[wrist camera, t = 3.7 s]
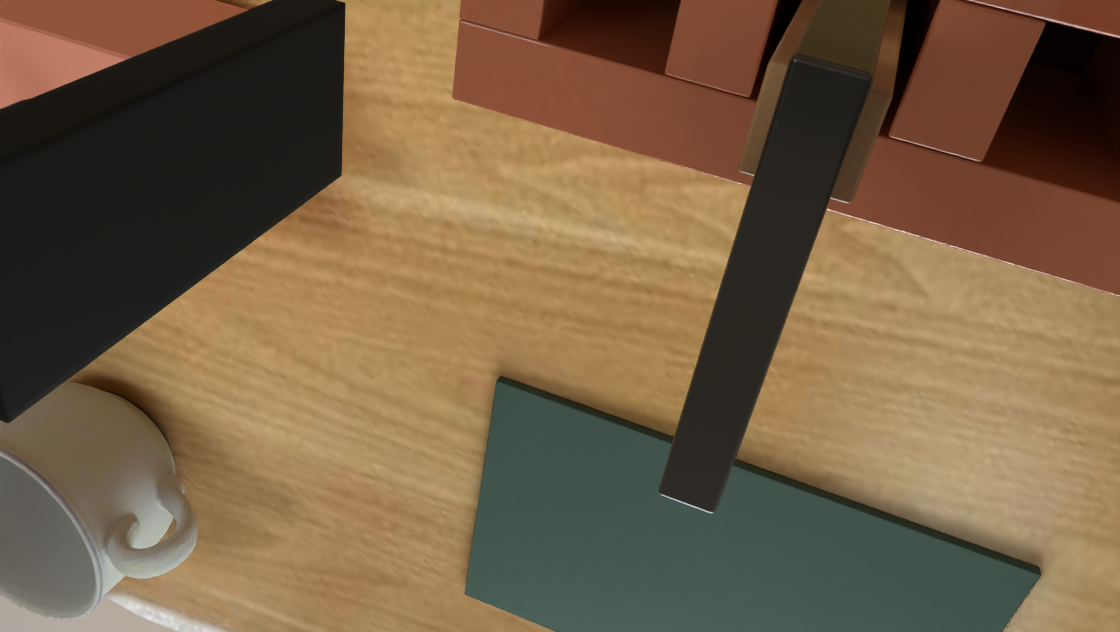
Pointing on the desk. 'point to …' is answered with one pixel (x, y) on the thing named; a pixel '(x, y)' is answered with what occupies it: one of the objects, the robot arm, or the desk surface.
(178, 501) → the teacup
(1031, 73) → the holder
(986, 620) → the mat
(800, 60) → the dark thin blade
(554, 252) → the desk surface
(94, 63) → the pink cube teapot
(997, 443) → the desk surface
